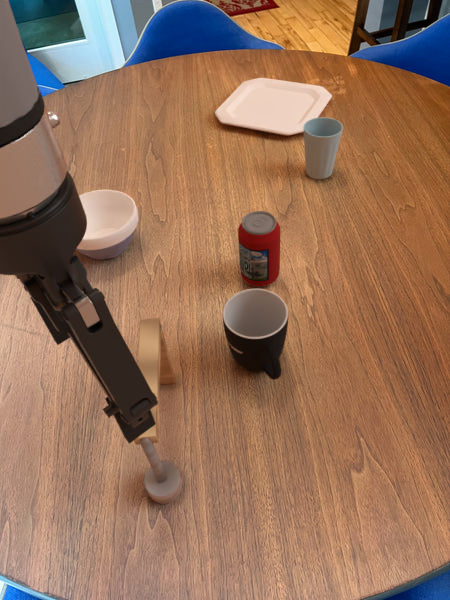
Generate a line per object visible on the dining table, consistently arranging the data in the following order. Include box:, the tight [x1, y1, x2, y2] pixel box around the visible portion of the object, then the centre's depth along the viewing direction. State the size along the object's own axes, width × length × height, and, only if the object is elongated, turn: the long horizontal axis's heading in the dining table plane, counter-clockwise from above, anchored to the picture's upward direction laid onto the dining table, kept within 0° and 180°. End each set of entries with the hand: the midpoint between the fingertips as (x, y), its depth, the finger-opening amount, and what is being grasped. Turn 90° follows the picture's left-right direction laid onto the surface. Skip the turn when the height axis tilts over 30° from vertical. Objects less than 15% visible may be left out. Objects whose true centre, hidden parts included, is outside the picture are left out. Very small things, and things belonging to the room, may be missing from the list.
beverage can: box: [237, 210, 281, 287], centre depth 79 cm, size 7×7×12 cm
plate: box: [214, 77, 333, 136], centre depth 120 cm, size 25×25×2 cm
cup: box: [303, 116, 344, 180], centre depth 98 cm, size 8×8×10 cm
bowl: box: [75, 189, 139, 261], centre depth 89 cm, size 14×14×8 cm
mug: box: [222, 288, 289, 380], centre depth 68 cm, size 12×9×10 cm
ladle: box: [133, 317, 184, 505], centre depth 60 cm, size 18×4×14 cm, turn 4°
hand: (101, 379), depth 44 cm, fingers open, 13 cm apart
